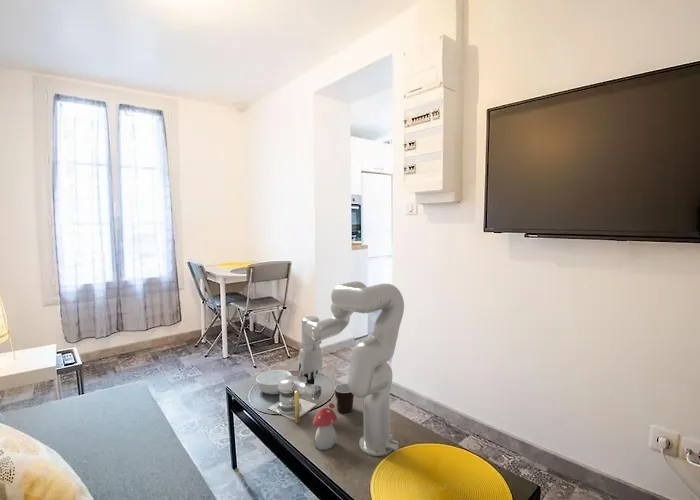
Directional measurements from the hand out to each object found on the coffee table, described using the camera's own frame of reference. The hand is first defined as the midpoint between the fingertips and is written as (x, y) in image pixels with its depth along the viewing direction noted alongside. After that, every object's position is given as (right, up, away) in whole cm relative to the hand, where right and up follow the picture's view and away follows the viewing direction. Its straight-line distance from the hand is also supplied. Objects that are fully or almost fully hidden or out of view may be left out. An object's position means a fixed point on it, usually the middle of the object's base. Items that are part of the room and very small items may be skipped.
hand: (310, 386), depth 157 cm
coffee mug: (+15, -11, +2) cm, 18 cm away
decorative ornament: (+8, -13, -23) cm, 28 cm away
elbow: (-5, -2, -2) cm, 6 cm away
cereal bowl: (-19, -9, +19) cm, 28 cm away
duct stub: (-8, -11, +1) cm, 13 cm away
